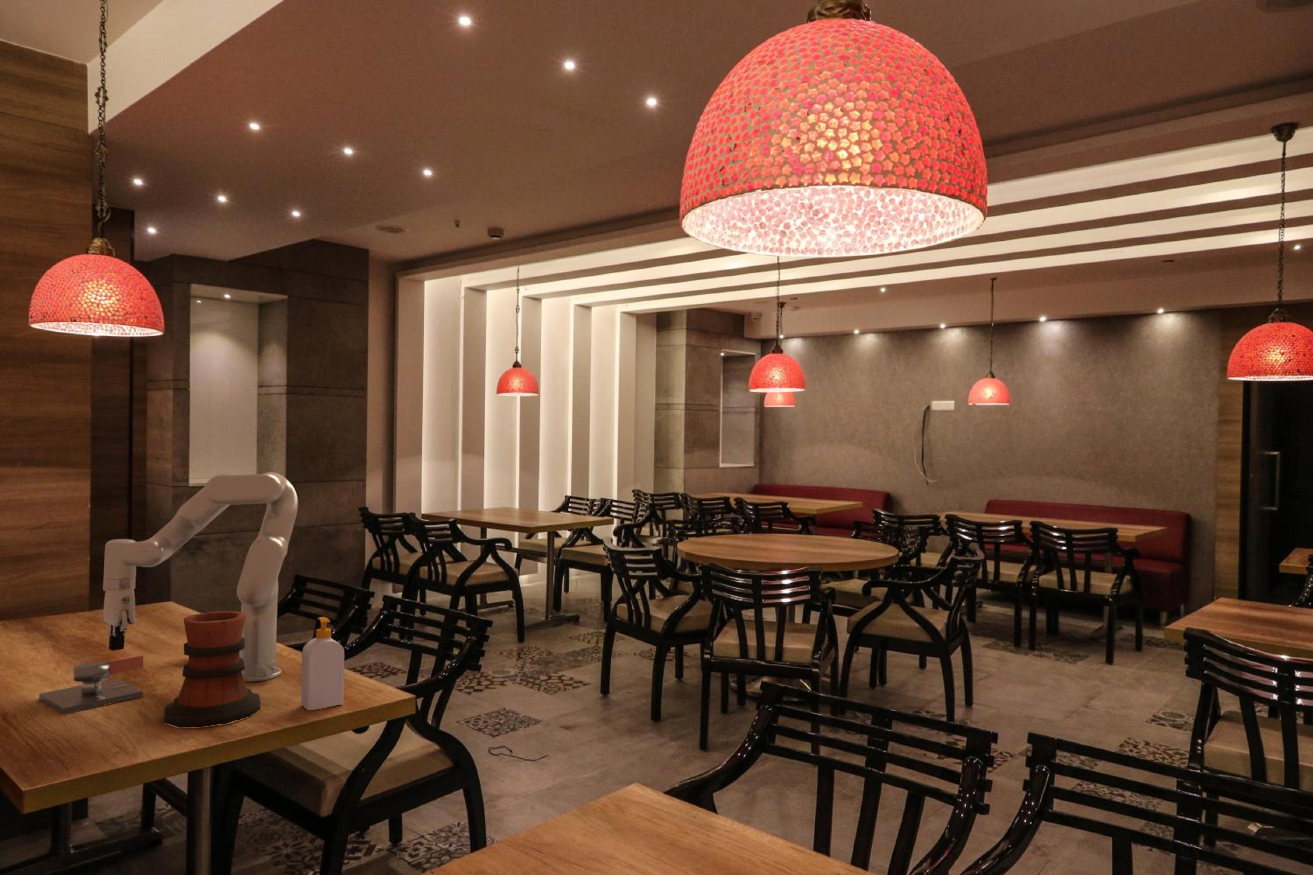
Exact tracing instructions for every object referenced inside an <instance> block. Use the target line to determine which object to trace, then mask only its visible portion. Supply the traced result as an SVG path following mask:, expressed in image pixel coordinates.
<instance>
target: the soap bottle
mask: <svg viewBox="0 0 1313 875" xmlns="http://www.w3.org/2000/svg"><path fill="white" fill-rule="evenodd" d="M317 621H320V628H318V629H316V630H315V631H316V632H315V636H316V637H315V638H311V640H309V641H307V642H306V644H305V645H304V646H303V647H302V651H301V680H300V681H301V682H300V683H301V684H300V686H301V689H300V691H301V692H300V704H301V706H302V705H303V706H304V707H303V706H302V707H303V708H304V709H306V711H308V710H315V709H320V708H324V707H330V706H335V705H340V704H342V705H344V685H345V683H344V682H345V680H344V679H345V678H344V677H345V675H344V674H345V669H344V668H345V650H344V647H343V646H342V644H341V643H339V642H338V641H336V640H335V639H333V638H332V629H331V628H328V627H327V623H331V621H330V619H329V618H328V617H325V616H320V617H319V616H318V618H317ZM320 710H321V709H320ZM315 711H316V710H315Z"/></svg>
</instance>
